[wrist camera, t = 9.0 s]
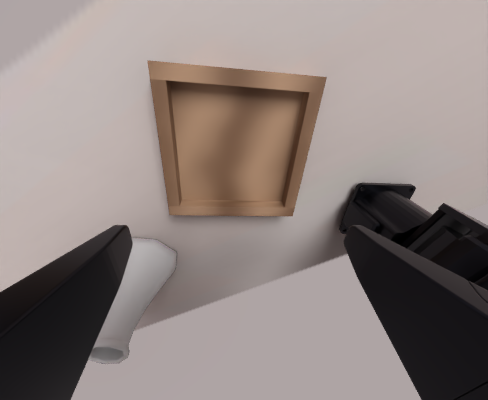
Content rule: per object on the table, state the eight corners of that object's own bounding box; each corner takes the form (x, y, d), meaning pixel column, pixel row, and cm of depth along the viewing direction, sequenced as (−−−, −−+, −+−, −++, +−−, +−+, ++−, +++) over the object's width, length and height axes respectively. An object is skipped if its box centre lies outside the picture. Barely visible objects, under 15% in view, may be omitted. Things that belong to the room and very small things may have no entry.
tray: (315, 77, 16) (326, 77, 14) (287, 205, 22) (292, 216, 20) (156, 62, 14) (147, 60, 13) (174, 203, 20) (169, 215, 19)
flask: (166, 283, 27) (140, 378, 18) (108, 268, 25) (47, 369, 16) (187, 247, 24) (167, 341, 15) (123, 227, 22) (57, 323, 13)
